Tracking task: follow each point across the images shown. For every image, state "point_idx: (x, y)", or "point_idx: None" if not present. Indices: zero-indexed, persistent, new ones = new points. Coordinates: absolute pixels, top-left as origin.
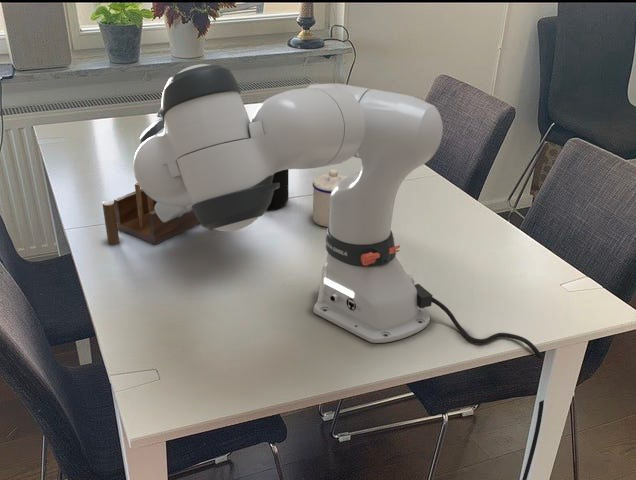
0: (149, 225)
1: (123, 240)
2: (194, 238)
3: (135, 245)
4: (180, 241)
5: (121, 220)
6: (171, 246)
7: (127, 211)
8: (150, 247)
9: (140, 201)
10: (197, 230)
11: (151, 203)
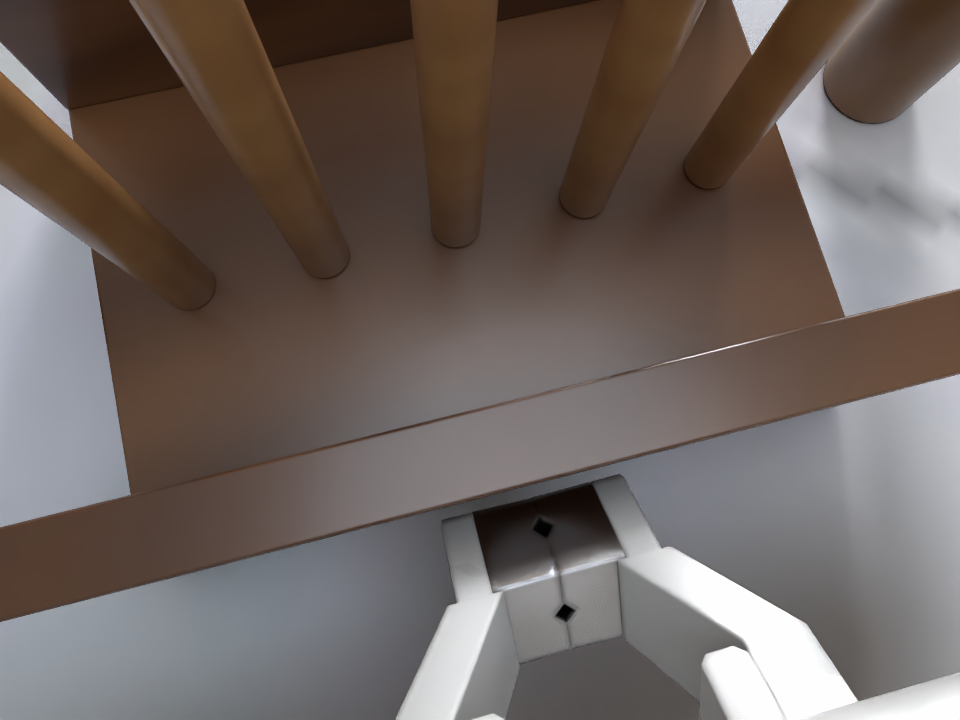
0: (271, 285)
1: (4, 316)
2: (546, 680)
3: (26, 472)
4: (402, 656)
5: (65, 87)
6: (274, 702)
7: (128, 25)
8: (107, 596)
9: (20, 191)
10: (658, 538)
11: (267, 187)
